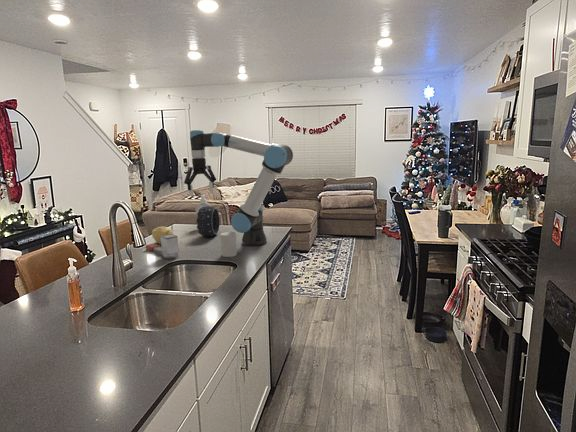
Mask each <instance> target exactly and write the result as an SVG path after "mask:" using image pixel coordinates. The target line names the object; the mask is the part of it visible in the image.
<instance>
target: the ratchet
mask: <svg viewBox="0 0 576 432" xmlns="http://www.w3.org/2000/svg"><path fill="white" fill-rule="evenodd" d="M145 249H146V251H148V252H151V253H153V254H157V255H158V256H159V255H160V256H161V257H162V258H163V259H164V260H174V259H177V258H179V252H176V253H172V254H165V253H162V246H160V245H159V244H155V243H149V244H146V245H145Z"/></svg>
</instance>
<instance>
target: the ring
mask: <svg viewBox="0 0 576 432" xmlns="http://www.w3.org/2000/svg"><path fill="white" fill-rule="evenodd" d="M198 211H199V212H198V213H197V216H196V217H197V218H196V219H195V220H196V223H197V225H196V228H197V230H198V231H197V233H199V234H200V235H201V236H202V237H214V236H215V235H217V234H218V233H219V231H220V226H221V225H220V214H219V213H220V212H219V210H218V208H216V207H215V206H212V205H211V206H205V207H202V208H200V209H199V210H198Z"/></svg>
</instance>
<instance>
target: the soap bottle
mask: <svg viewBox="0 0 576 432" xmlns="http://www.w3.org/2000/svg"><path fill="white" fill-rule="evenodd" d="M200 196H201V198H200V199H199V203H198V204H196V206H195V216H196V217H197V213H198V212H199V211H198V210H199V209H200V208H202V207H205V206H212V205H211V204H210V203H209V202H207V198H206V197H205V196H206V194H201V195H200Z"/></svg>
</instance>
